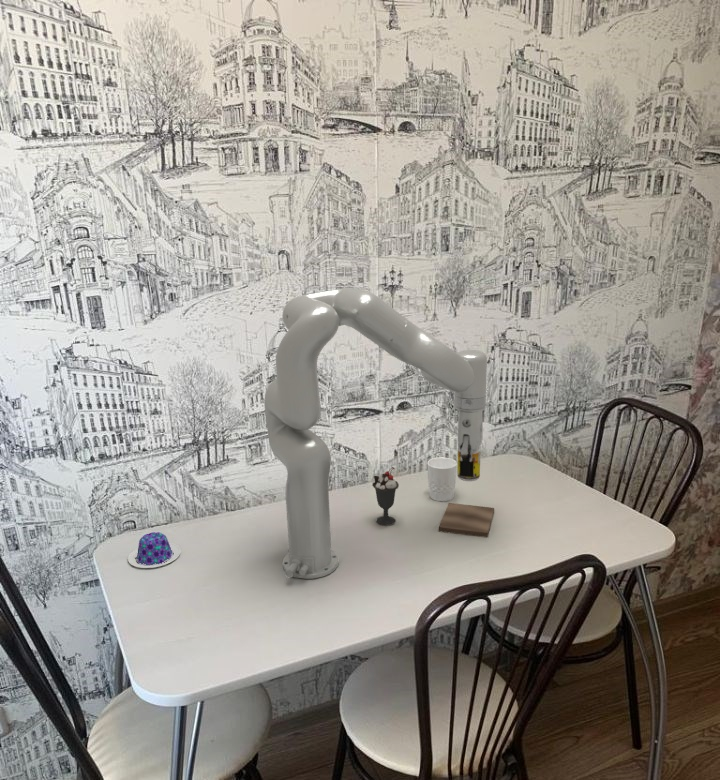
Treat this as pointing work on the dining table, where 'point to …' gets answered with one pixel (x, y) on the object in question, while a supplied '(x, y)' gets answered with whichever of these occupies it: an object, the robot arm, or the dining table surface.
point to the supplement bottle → (475, 469)
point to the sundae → (385, 495)
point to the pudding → (154, 551)
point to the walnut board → (467, 519)
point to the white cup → (442, 478)
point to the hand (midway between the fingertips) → (468, 470)
